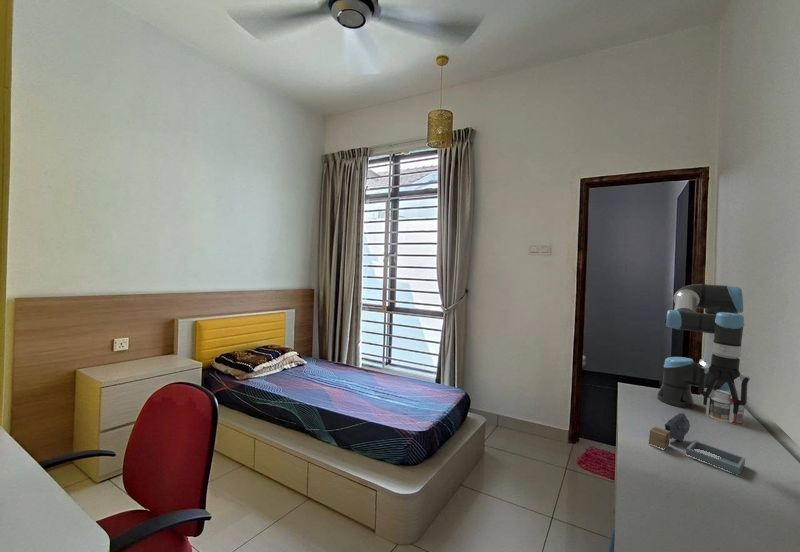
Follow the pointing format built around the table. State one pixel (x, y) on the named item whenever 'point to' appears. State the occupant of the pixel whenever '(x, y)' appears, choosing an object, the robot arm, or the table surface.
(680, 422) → the stone
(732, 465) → the tray
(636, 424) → the table surface
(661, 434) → the brown cube
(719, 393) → the pill bottle
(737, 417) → the soda can
